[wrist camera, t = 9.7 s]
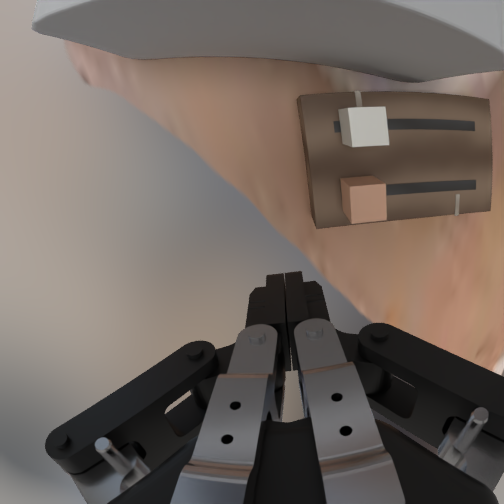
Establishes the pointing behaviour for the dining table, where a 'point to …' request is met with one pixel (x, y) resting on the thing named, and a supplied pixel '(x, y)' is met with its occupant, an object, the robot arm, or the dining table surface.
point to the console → (401, 154)
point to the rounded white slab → (293, 32)
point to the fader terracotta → (364, 199)
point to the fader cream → (364, 126)
